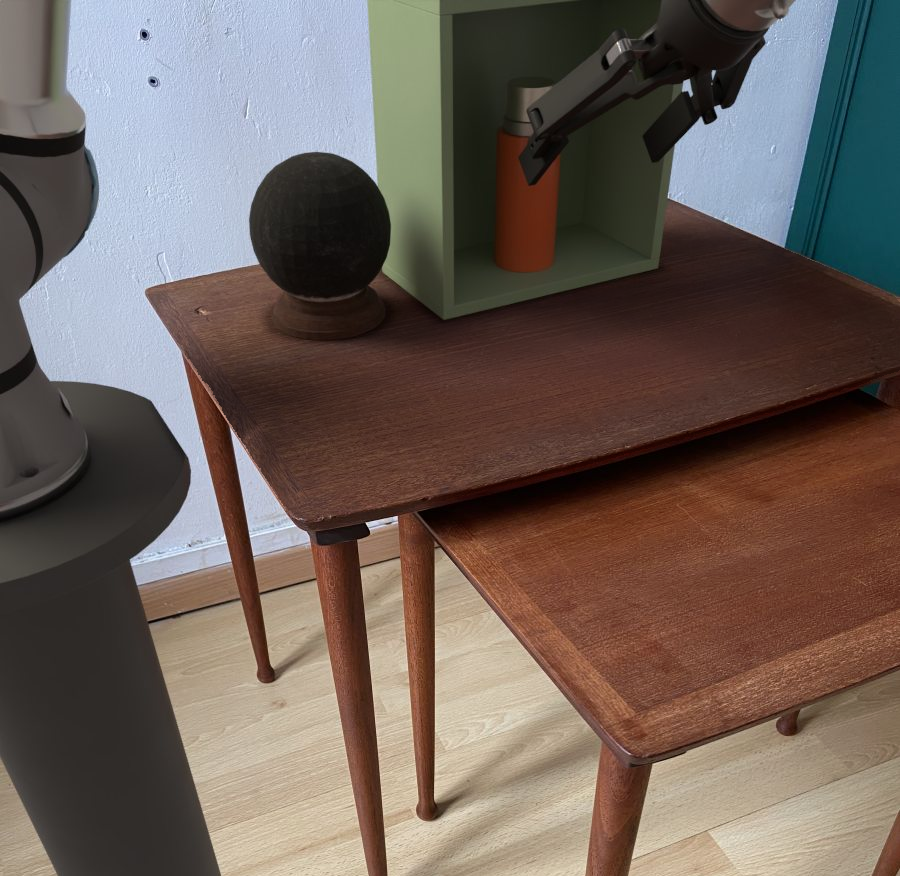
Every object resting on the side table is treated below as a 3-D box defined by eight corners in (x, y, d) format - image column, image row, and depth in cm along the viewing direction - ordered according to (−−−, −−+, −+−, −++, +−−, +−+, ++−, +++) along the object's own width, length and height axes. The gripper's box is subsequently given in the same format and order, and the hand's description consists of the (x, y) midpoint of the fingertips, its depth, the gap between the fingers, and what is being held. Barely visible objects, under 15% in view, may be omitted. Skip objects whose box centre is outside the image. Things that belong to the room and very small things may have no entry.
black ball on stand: (418, 325, 92) (413, 162, 83) (291, 356, 88) (270, 187, 78) (361, 279, 101) (350, 126, 91) (243, 305, 96) (218, 147, 87)
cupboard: (658, 268, 103) (698, -29, 85) (443, 320, 93) (439, -2, 76) (584, 229, 112) (606, -46, 95) (382, 272, 103) (365, -25, 85)
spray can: (498, 274, 99) (503, 91, 88) (489, 251, 104) (493, 75, 93) (559, 271, 99) (571, 88, 88) (547, 248, 104) (557, 73, 93)
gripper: (607, 57, 62) (485, 221, 82) (879, 20, 71) (711, 177, 91) (567, -51, 62) (455, 140, 82) (844, -73, 71) (684, 103, 91)
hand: (590, 160), depth 86 cm, fingers open, 13 cm apart
